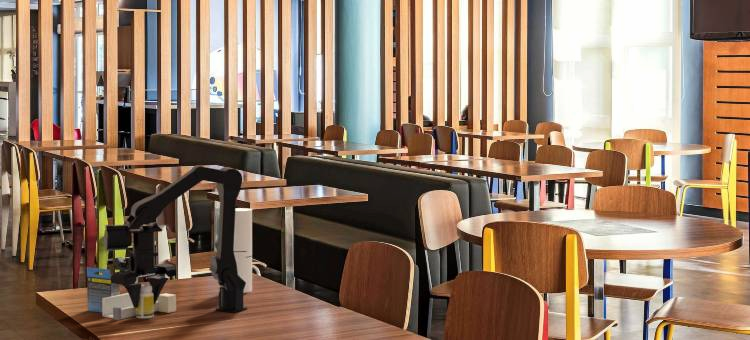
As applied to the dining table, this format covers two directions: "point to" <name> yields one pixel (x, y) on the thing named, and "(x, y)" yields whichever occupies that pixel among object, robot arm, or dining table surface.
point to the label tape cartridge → (99, 288)
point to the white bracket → (124, 308)
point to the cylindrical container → (243, 245)
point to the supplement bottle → (145, 303)
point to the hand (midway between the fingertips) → (144, 305)
